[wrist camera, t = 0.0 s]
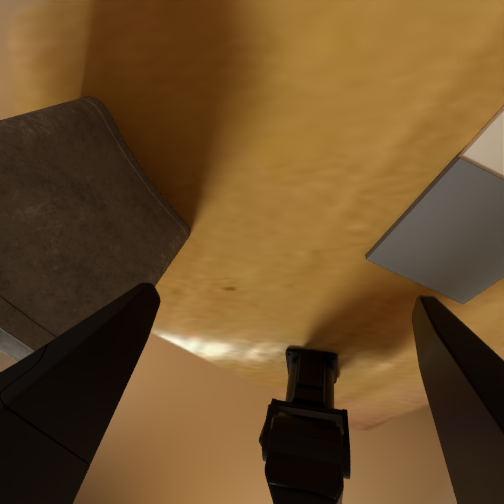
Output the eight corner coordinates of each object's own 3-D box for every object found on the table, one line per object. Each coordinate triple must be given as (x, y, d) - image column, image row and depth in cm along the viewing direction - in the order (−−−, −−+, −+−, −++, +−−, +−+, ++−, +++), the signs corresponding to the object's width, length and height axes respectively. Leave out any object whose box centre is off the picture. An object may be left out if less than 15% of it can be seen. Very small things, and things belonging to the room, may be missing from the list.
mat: (460, 299, 26) (463, 304, 25) (365, 255, 25) (365, 259, 25) (580, 217, 19) (587, 221, 19) (456, 155, 19) (460, 158, 18)
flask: (168, 245, 30) (29, 431, 16) (65, 111, 23) (-334, 234, 9) (195, 236, 28) (66, 434, 14) (93, 89, 21) (-340, 198, 8)
